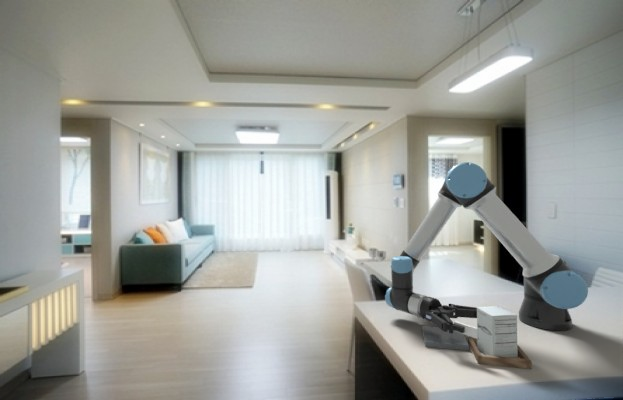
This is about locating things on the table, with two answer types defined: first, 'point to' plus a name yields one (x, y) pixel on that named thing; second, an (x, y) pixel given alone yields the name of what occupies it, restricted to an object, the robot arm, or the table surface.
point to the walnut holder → (498, 360)
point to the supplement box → (497, 331)
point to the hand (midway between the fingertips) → (489, 327)
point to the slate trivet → (444, 338)
